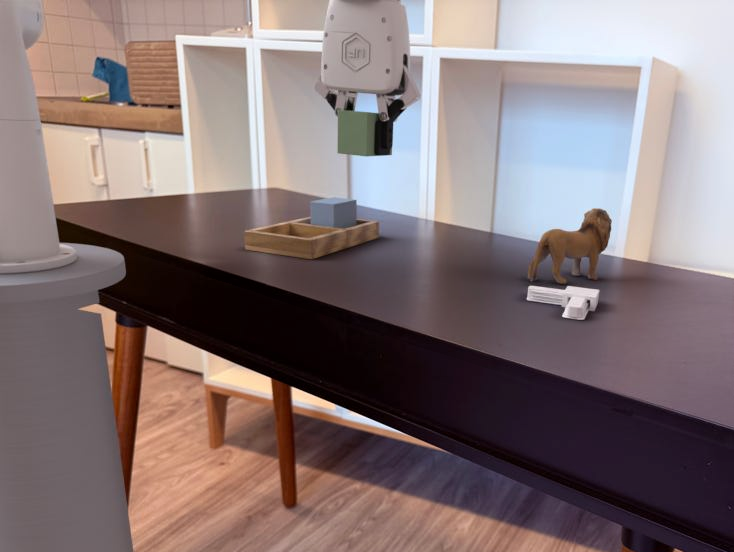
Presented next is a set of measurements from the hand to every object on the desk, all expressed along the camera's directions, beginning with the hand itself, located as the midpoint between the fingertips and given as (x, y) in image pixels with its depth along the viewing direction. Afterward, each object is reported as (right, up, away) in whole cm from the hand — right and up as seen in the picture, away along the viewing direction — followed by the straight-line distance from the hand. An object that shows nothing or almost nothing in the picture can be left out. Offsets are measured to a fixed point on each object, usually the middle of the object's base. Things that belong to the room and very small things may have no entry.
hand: (365, 151), depth 84 cm
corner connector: (+23, -21, -9) cm, 32 cm away
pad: (0, 0, 0) cm, 0 cm away
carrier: (-10, -9, +15) cm, 20 cm away
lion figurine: (+26, -16, +5) cm, 31 cm away
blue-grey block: (-8, -7, +19) cm, 22 cm away
